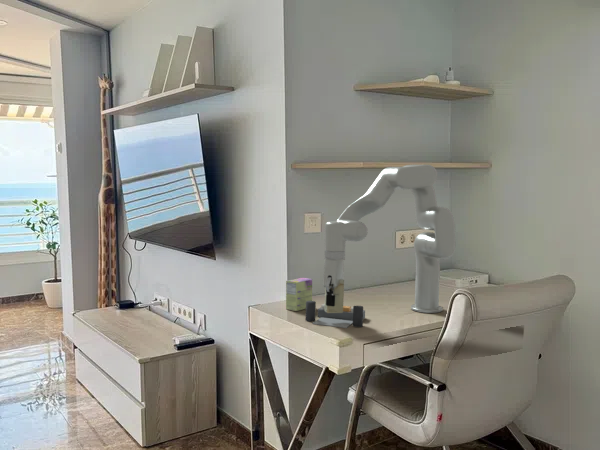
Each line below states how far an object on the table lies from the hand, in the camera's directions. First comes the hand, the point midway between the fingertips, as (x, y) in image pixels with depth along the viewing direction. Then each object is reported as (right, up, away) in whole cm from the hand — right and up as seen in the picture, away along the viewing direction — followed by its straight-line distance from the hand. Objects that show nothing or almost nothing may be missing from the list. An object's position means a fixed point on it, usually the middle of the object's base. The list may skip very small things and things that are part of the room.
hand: (333, 303), depth 203 cm
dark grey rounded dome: (-9, -7, +4) cm, 12 cm away
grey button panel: (+1, -7, +4) cm, 8 cm away
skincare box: (0, -3, 0) cm, 3 cm away
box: (-13, -6, +23) cm, 27 cm away
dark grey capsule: (+8, -8, -3) cm, 12 cm away
